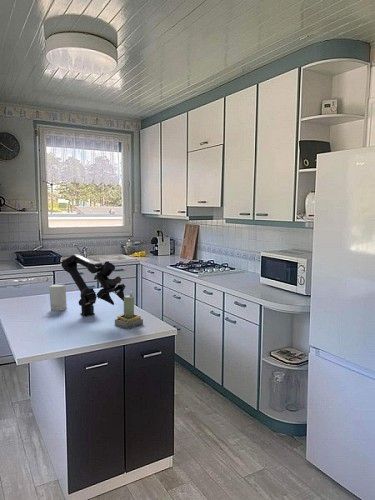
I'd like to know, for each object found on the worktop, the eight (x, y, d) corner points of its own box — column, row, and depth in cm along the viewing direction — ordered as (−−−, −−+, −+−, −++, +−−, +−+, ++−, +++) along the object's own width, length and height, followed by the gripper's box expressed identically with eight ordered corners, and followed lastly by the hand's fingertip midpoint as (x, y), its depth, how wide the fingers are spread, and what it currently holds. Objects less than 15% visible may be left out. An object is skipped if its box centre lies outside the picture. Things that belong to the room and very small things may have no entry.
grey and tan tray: (127, 329, 205) (127, 320, 205) (114, 324, 213) (114, 316, 212) (143, 324, 214) (143, 316, 213) (130, 320, 221) (130, 312, 220)
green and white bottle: (126, 320, 210) (126, 293, 209) (122, 318, 215) (122, 291, 213) (135, 319, 213) (135, 292, 212) (131, 316, 218) (131, 290, 216)
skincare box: (67, 308, 246) (66, 284, 245) (62, 311, 240) (61, 286, 238) (54, 307, 247) (53, 284, 245) (49, 310, 241) (48, 286, 239)
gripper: (100, 274, 210) (115, 297, 205) (123, 270, 225) (137, 291, 221) (89, 287, 215) (104, 309, 210) (113, 281, 231) (127, 302, 226)
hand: (119, 302), depth 217 cm, fingers open, 9 cm apart
